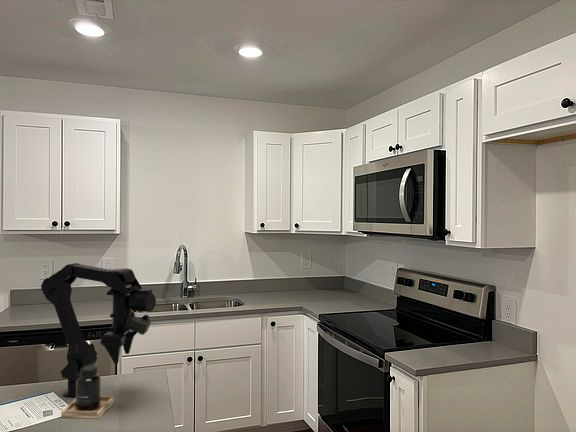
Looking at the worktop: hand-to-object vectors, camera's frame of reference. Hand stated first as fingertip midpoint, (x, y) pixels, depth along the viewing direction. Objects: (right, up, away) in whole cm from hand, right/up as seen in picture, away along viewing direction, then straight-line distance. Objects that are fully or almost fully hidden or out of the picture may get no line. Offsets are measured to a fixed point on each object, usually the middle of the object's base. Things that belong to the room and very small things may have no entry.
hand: (121, 358), depth 143 cm
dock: (-7, -13, -7) cm, 17 cm away
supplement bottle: (-8, -13, -7) cm, 16 cm away
